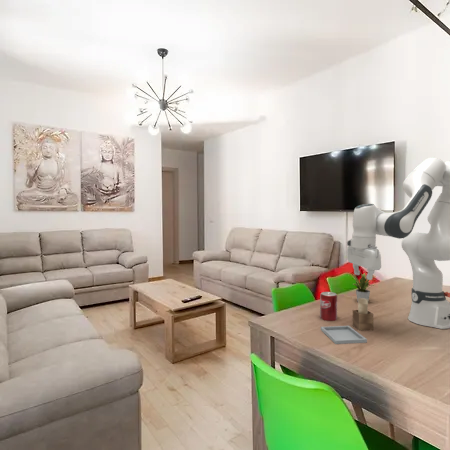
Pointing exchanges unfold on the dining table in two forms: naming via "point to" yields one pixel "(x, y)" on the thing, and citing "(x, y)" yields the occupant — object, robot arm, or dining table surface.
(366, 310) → the dowel
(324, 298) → the soda can
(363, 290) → the house plant
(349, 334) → the tray
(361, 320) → the brown wooden box
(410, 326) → the dining table surface
